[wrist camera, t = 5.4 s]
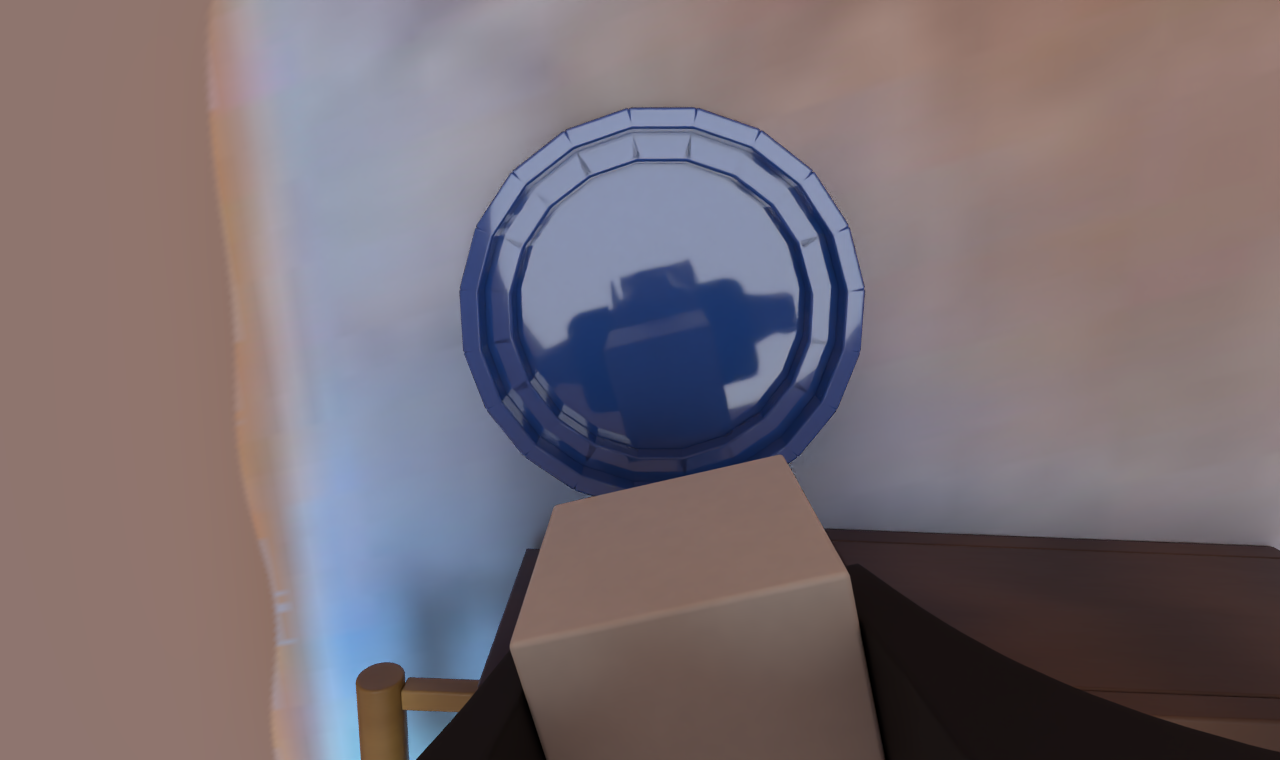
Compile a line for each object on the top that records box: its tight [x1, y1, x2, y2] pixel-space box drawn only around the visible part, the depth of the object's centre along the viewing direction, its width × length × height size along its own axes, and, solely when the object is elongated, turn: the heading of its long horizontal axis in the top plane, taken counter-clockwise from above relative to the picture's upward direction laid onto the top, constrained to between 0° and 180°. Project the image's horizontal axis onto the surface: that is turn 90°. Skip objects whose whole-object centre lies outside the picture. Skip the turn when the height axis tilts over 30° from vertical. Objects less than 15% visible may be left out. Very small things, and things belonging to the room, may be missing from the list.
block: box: [510, 455, 886, 760], centre depth 11 cm, size 4×4×4 cm
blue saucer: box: [459, 107, 865, 496], centre depth 19 cm, size 11×11×2 cm
